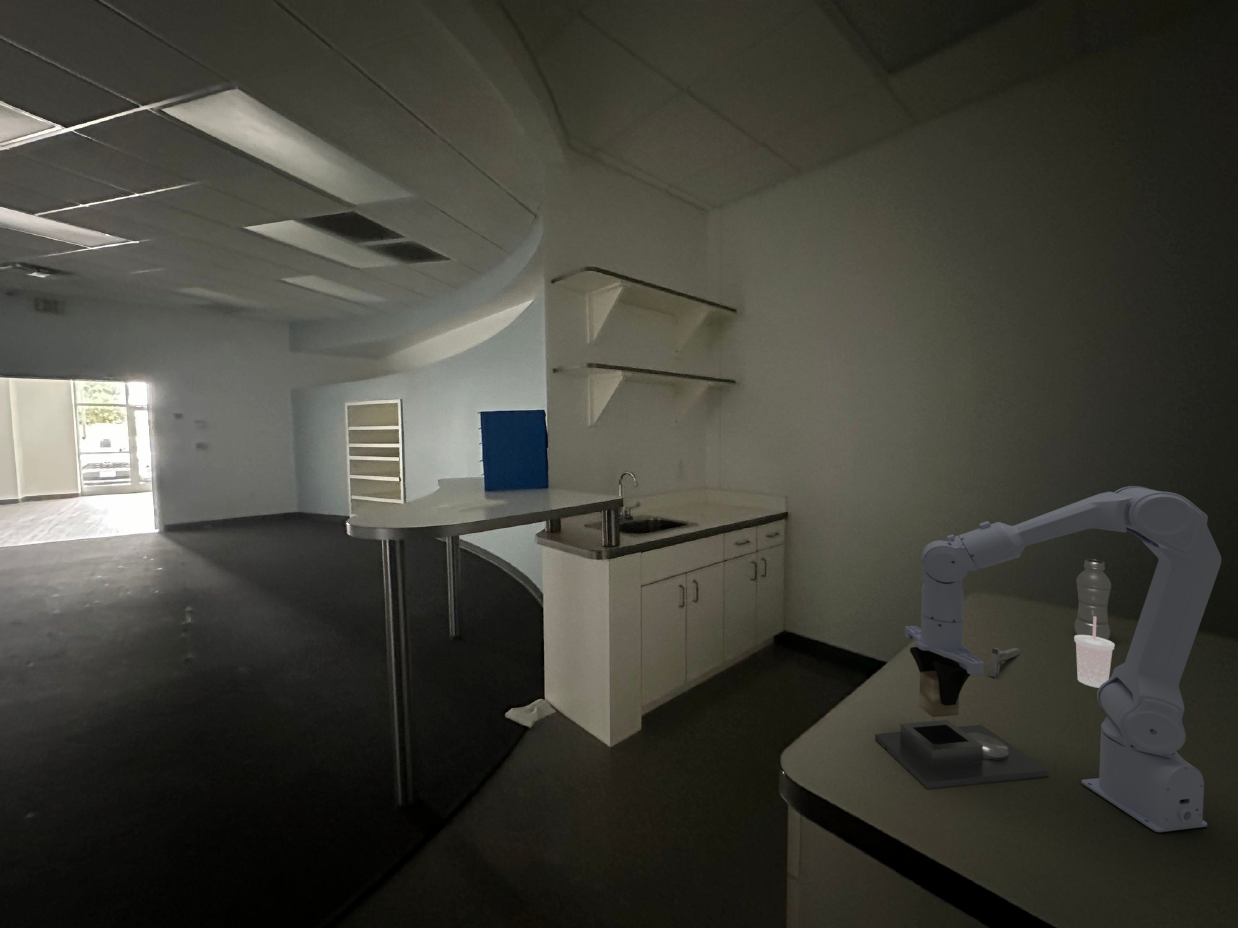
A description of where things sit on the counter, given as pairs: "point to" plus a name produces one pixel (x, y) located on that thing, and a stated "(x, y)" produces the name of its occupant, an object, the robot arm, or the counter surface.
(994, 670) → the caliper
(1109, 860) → the counter surface
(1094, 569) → the plastic bottle
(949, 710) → the cardboard box
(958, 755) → the black tray
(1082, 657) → the beverage cup
